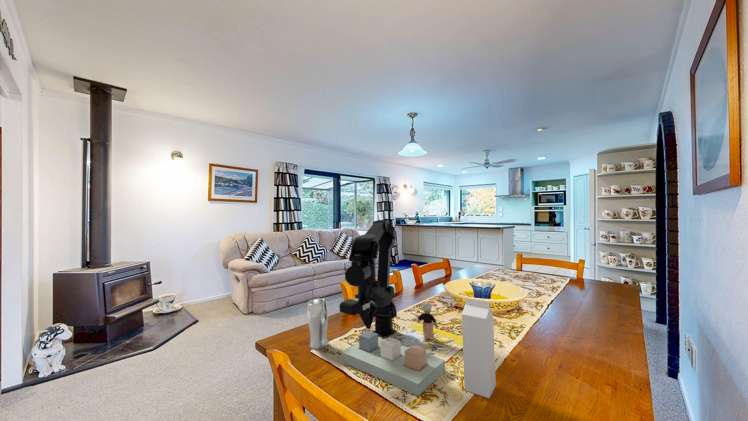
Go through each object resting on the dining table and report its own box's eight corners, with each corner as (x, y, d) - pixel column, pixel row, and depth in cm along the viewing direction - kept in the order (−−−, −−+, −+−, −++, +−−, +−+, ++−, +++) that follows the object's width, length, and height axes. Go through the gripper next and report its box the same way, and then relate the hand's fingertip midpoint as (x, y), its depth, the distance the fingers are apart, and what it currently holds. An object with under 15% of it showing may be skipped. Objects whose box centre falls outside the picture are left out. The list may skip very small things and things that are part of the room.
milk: (472, 378, 77) (469, 295, 77) (496, 386, 73) (492, 298, 73) (464, 390, 72) (460, 301, 72) (489, 399, 68) (486, 305, 68)
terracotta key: (413, 361, 82) (413, 345, 82) (426, 365, 79) (426, 349, 79) (405, 367, 78) (404, 351, 78) (418, 372, 76) (417, 355, 76)
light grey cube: (389, 352, 87) (389, 337, 87) (401, 356, 84) (400, 341, 84) (380, 358, 84) (380, 342, 84) (392, 362, 81) (391, 346, 81)
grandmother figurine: (440, 339, 100) (439, 302, 100) (437, 344, 97) (436, 306, 97) (418, 336, 104) (417, 300, 104) (415, 340, 100) (414, 303, 100)
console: (371, 344, 98) (371, 335, 98) (445, 370, 81) (444, 359, 81) (341, 361, 88) (341, 351, 88) (418, 396, 70) (418, 383, 70)
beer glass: (324, 350, 95) (323, 304, 95) (305, 349, 97) (303, 304, 97) (332, 341, 102) (330, 298, 102) (313, 339, 103) (311, 297, 103)
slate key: (368, 344, 93) (367, 330, 93) (378, 348, 90) (378, 333, 90) (359, 349, 90) (358, 335, 90) (369, 353, 87) (369, 338, 87)
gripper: (365, 288, 77) (367, 347, 77) (405, 275, 92) (407, 324, 92) (337, 283, 85) (339, 336, 85) (378, 271, 99) (379, 317, 99)
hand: (368, 328), depth 90 cm, fingers closed
